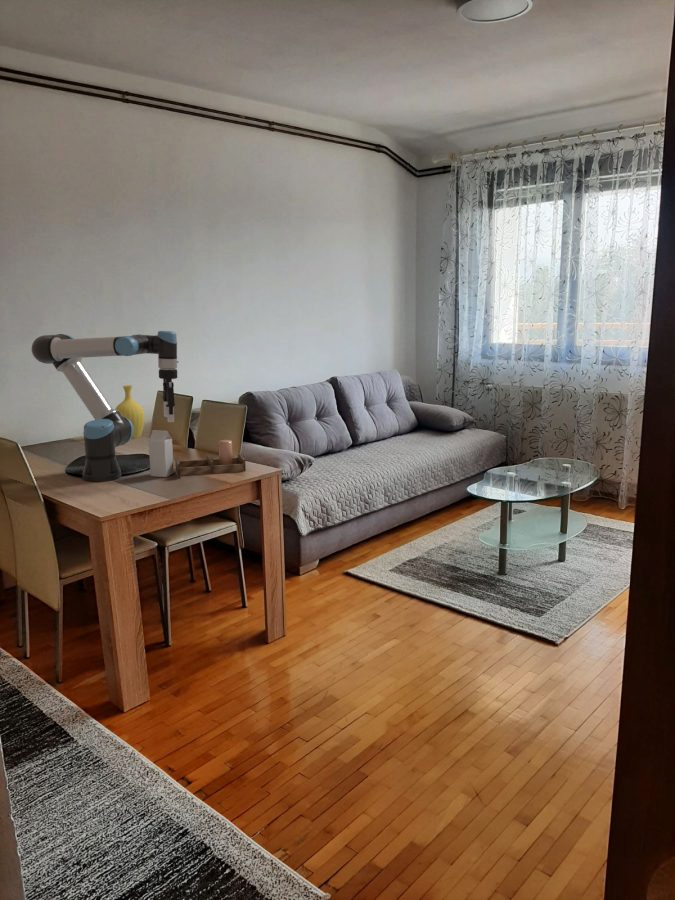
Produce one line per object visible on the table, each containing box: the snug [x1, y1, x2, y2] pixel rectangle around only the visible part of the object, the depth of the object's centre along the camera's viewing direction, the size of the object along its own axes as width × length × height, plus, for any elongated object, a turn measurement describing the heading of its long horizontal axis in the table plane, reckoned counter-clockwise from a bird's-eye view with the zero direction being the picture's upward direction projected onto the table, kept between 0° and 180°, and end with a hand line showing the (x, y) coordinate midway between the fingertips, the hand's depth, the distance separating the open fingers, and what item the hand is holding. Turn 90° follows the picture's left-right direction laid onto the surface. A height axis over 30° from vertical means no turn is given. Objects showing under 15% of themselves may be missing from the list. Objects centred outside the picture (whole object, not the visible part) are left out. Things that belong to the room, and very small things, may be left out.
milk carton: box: [148, 429, 175, 478], centre depth 276 cm, size 7×7×19 cm
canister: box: [218, 439, 233, 465], centre depth 284 cm, size 6×6×12 cm
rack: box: [174, 452, 247, 479], centre depth 283 cm, size 28×14×6 cm, turn 107°
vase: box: [114, 384, 146, 440], centre depth 358 cm, size 16×16×28 cm
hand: (169, 419), depth 278 cm, fingers open, 13 cm apart
